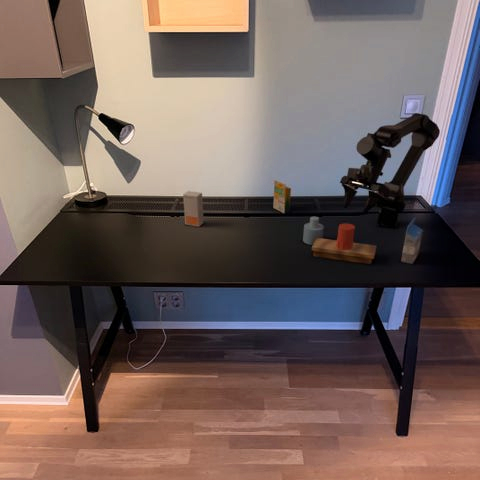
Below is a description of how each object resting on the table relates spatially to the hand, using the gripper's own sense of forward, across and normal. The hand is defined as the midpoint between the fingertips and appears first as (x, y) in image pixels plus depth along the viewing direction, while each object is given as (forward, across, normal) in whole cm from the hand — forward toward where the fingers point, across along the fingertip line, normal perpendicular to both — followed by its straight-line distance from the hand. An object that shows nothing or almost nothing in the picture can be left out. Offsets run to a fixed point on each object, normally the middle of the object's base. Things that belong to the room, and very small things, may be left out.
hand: (353, 210), depth 154 cm
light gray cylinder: (+14, -9, -3) cm, 17 cm away
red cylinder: (+12, +6, -3) cm, 14 cm away
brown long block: (+15, +5, -1) cm, 16 cm away
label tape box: (+7, +18, +15) cm, 24 cm away
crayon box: (+8, -39, +1) cm, 40 cm away
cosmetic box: (+26, -44, -30) cm, 60 cm away
